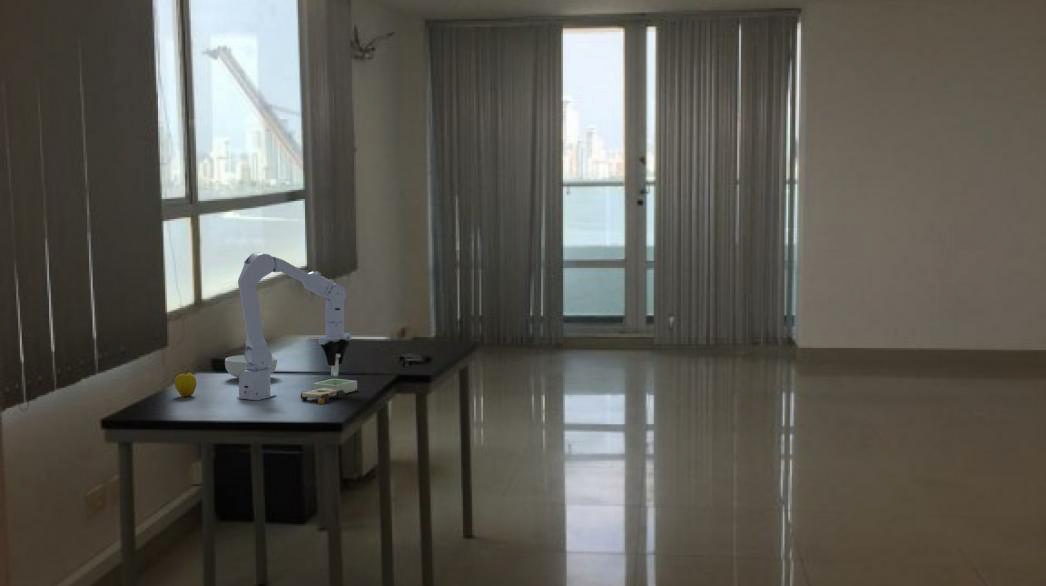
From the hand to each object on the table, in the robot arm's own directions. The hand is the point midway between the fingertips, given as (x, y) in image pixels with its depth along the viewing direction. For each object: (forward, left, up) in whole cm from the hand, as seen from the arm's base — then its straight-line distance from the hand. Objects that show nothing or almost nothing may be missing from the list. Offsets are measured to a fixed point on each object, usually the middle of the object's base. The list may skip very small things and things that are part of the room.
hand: (335, 364), depth 371 cm
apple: (-30, +34, -9) cm, 46 cm away
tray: (0, 0, -8) cm, 8 cm away
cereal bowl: (+6, +39, -9) cm, 40 cm away
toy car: (-13, -5, -9) cm, 16 cm away
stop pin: (0, 0, -3) cm, 4 cm away
